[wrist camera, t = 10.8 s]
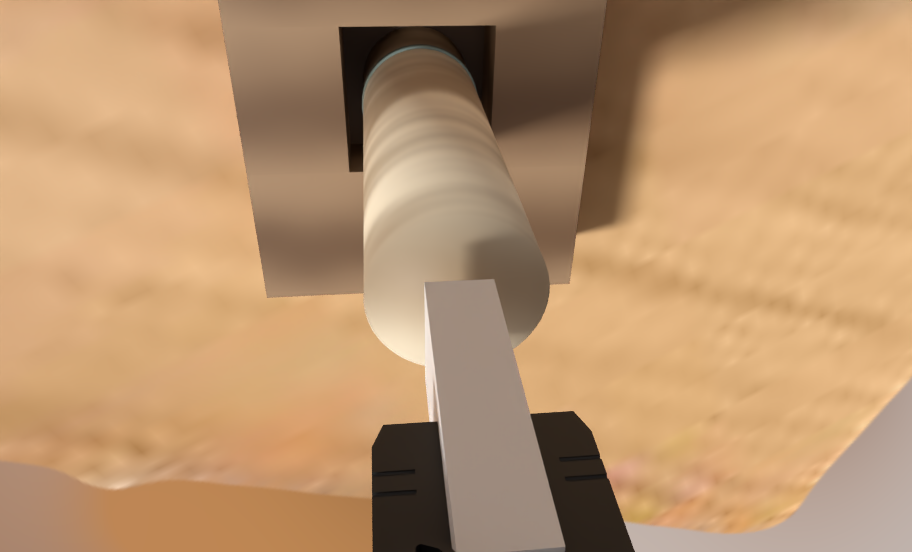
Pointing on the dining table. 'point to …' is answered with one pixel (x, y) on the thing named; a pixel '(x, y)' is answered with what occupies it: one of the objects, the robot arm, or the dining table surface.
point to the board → (341, 118)
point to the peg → (437, 194)
